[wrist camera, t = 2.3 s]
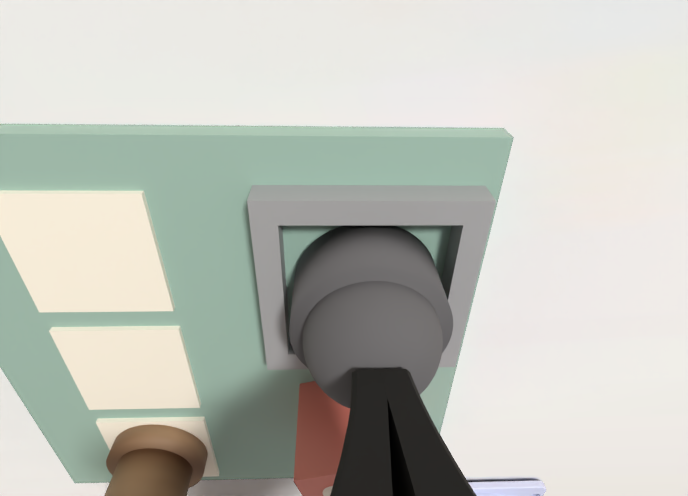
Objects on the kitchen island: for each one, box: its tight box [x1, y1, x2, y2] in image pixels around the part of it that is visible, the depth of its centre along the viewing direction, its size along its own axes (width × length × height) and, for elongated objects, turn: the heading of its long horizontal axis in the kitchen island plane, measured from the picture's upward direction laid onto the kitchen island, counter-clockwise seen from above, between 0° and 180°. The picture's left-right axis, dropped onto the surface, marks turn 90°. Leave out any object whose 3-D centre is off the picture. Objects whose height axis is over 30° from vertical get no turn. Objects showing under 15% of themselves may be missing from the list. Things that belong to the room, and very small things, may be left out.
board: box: [0, 124, 514, 483], centre depth 17 cm, size 18×18×2 cm
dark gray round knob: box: [289, 225, 453, 408], centre depth 13 cm, size 5×5×5 cm
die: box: [294, 381, 350, 496], centre depth 17 cm, size 4×4×4 cm
